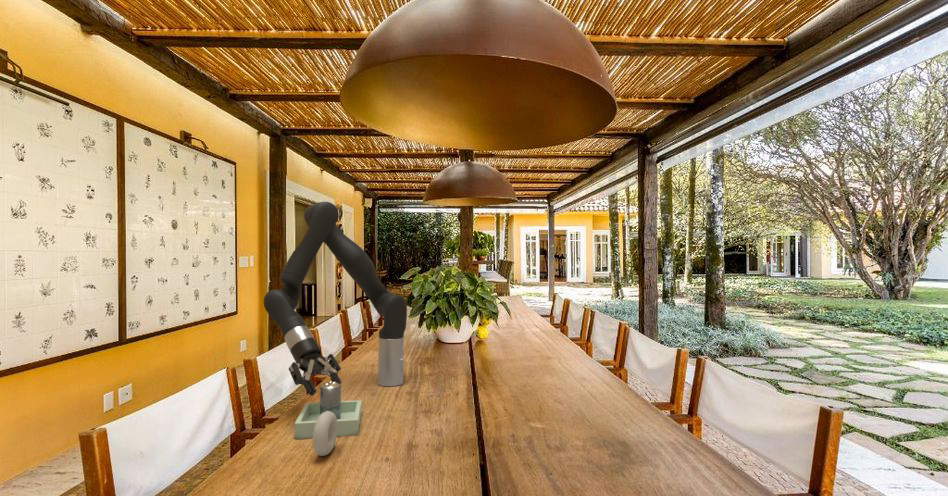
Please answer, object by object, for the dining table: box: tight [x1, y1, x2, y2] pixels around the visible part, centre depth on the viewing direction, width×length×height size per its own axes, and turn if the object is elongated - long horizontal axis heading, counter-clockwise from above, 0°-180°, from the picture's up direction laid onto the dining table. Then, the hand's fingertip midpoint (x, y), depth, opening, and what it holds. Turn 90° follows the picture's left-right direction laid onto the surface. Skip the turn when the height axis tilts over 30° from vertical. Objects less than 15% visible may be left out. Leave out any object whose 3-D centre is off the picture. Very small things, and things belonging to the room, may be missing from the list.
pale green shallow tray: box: [293, 399, 362, 440], centre depth 122 cm, size 16×16×4 cm
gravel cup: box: [319, 380, 342, 419], centre depth 123 cm, size 6×6×11 cm
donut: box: [312, 411, 338, 457], centre depth 105 cm, size 10×4×10 cm, turn 178°
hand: (326, 390), depth 124 cm, fingers open, 8 cm apart
